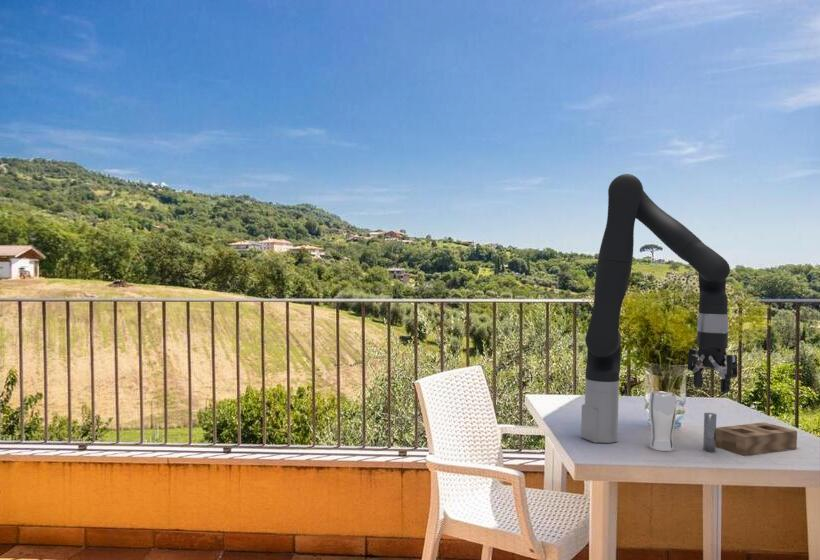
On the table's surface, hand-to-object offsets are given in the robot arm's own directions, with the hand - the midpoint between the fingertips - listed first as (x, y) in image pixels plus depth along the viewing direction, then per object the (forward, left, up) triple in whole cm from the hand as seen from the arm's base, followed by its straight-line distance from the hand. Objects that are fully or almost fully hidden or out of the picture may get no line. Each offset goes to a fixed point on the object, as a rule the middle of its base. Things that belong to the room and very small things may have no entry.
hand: (711, 389), depth 171 cm
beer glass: (-11, +6, -17) cm, 21 cm away
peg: (0, 0, -17) cm, 17 cm away
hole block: (+15, -2, -17) cm, 22 cm away
